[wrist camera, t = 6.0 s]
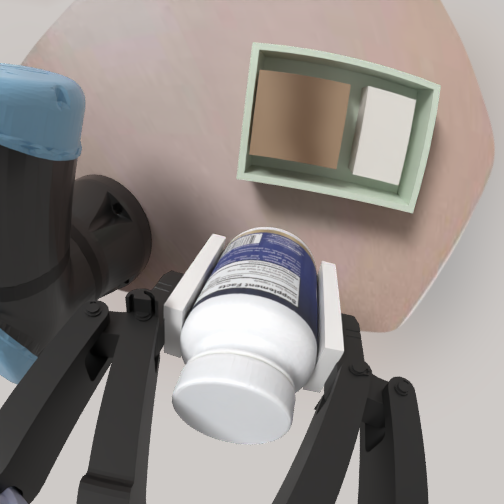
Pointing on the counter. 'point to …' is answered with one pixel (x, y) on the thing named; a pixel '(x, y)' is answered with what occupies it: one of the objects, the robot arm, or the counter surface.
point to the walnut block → (299, 118)
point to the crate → (341, 177)
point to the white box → (381, 135)
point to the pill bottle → (250, 339)
